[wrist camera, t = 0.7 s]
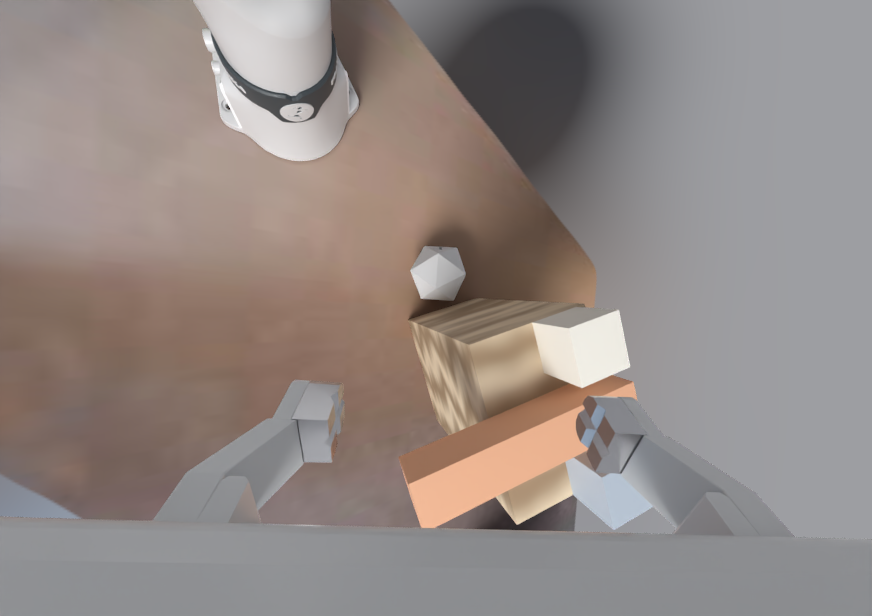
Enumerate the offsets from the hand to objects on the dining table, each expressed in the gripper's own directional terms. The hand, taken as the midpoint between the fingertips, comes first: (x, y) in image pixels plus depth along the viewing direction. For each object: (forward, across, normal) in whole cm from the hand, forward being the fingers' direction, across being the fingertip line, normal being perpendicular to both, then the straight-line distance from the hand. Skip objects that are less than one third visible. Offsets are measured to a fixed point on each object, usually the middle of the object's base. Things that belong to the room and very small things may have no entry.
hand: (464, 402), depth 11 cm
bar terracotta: (+12, -8, +16) cm, 22 cm away
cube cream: (+17, -12, +9) cm, 23 cm away
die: (+42, 0, +14) cm, 44 cm away
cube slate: (+13, -16, +20) cm, 29 cm away
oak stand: (+36, -6, +26) cm, 45 cm away
